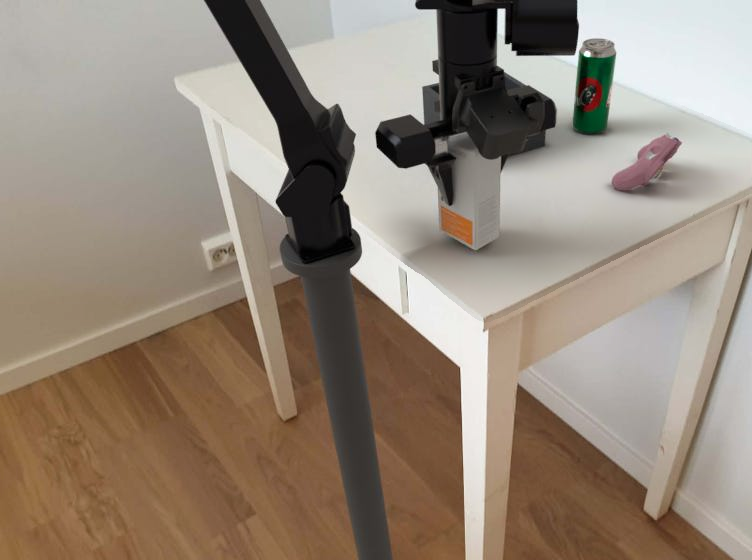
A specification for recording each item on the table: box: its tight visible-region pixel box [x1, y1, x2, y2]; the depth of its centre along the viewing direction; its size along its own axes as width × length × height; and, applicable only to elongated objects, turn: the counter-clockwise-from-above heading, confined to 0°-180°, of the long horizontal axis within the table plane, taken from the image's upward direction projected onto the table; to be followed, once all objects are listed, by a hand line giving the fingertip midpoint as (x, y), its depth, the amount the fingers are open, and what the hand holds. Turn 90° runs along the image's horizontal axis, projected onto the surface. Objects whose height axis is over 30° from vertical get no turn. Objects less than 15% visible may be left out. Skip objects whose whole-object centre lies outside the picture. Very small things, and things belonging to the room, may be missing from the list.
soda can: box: [571, 37, 617, 135], centre depth 102 cm, size 5×5×12 cm
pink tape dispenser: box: [611, 132, 683, 191], centre depth 93 cm, size 10×5×7 cm, turn 147°
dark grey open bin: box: [421, 71, 547, 157], centre depth 102 cm, size 13×13×7 cm
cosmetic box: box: [437, 134, 502, 251], centre depth 80 cm, size 6×4×12 cm
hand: (469, 198), depth 81 cm, fingers closed on cosmetic box, 5 cm apart
